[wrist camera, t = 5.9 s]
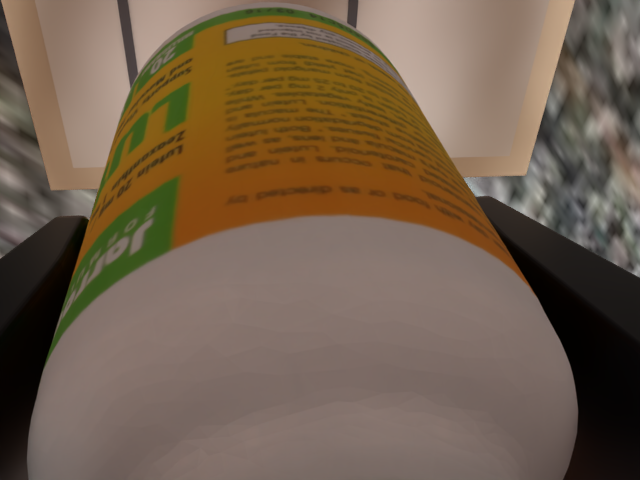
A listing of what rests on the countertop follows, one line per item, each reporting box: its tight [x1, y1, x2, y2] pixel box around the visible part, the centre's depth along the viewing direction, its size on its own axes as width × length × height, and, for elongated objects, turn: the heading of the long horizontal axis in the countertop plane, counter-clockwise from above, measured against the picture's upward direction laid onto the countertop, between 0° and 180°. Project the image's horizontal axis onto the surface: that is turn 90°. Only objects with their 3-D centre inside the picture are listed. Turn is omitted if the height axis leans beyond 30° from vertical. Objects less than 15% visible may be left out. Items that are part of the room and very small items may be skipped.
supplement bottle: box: [27, 2, 578, 480], centre depth 8 cm, size 5×5×10 cm
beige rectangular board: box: [1, 0, 575, 190], centre depth 19 cm, size 18×12×2 cm, turn 88°
